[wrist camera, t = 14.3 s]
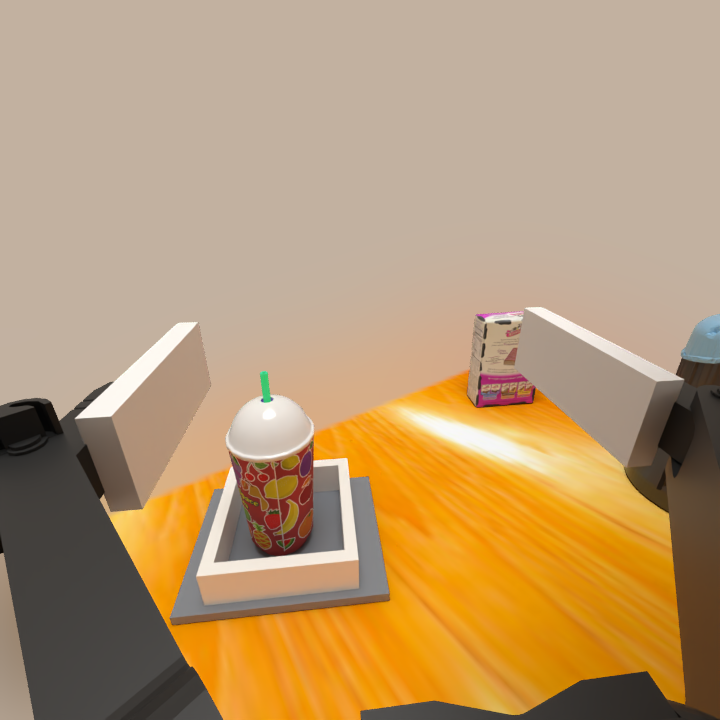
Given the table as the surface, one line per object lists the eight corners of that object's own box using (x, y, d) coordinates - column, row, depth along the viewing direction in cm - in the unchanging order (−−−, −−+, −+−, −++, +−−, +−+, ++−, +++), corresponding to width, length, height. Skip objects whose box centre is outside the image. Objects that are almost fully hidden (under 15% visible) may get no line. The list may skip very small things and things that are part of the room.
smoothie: (239, 519, 43) (211, 363, 35) (308, 497, 46) (297, 349, 38) (251, 581, 36) (218, 404, 28) (331, 550, 39) (322, 383, 31)
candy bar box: (519, 390, 73) (534, 309, 66) (533, 403, 68) (551, 318, 61) (464, 394, 71) (474, 312, 65) (475, 408, 67) (486, 321, 60)
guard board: (368, 482, 50) (368, 452, 48) (389, 600, 36) (390, 564, 34) (215, 495, 48) (209, 464, 46) (172, 625, 34) (159, 588, 32)
